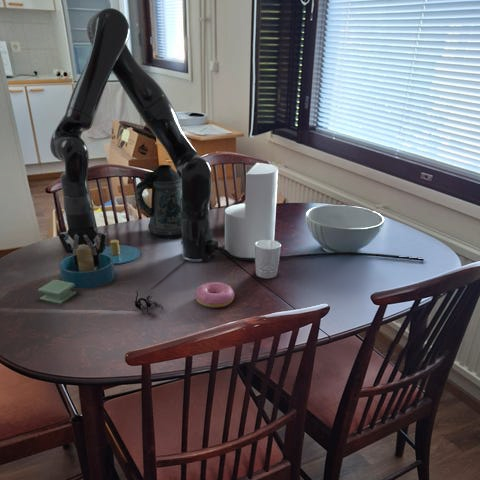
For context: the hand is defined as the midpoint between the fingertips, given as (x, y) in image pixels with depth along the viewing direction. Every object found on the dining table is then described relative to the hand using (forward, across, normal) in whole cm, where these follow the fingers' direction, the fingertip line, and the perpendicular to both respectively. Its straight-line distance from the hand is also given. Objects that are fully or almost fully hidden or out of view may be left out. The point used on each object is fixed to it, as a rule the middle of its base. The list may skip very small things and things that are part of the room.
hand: (88, 265), depth 143 cm
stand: (+4, +6, +12) cm, 14 cm away
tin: (+4, 0, 0) cm, 5 cm away
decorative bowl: (+6, -82, -28) cm, 86 cm away
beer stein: (+5, -19, -40) cm, 44 cm away
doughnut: (+5, -38, +13) cm, 41 cm away
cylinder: (+5, -49, -26) cm, 56 cm away
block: (+1, 0, 0) cm, 1 cm away
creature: (+5, -21, +20) cm, 29 cm away
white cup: (+5, -54, -6) cm, 54 cm away
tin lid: (+4, -4, -18) cm, 19 cm away
